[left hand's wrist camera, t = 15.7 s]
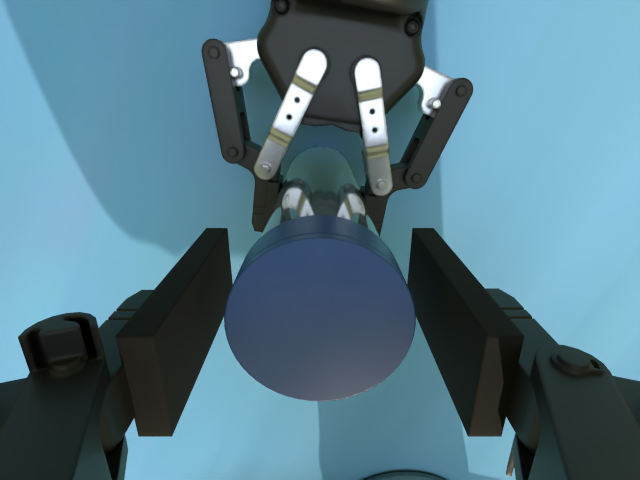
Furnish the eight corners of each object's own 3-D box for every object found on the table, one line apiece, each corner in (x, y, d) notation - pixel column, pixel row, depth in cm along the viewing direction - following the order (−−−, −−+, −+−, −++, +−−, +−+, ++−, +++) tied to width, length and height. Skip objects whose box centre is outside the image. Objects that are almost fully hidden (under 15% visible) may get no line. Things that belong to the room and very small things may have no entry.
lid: (335, 178, 11) (337, 196, 9) (432, 303, 12) (452, 340, 10) (204, 279, 12) (183, 313, 10) (307, 382, 13) (305, 428, 11)
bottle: (365, 173, 28) (438, 300, 11) (325, 222, 29) (332, 403, 12) (314, 132, 27) (304, 199, 10) (274, 184, 28) (205, 324, 11)
